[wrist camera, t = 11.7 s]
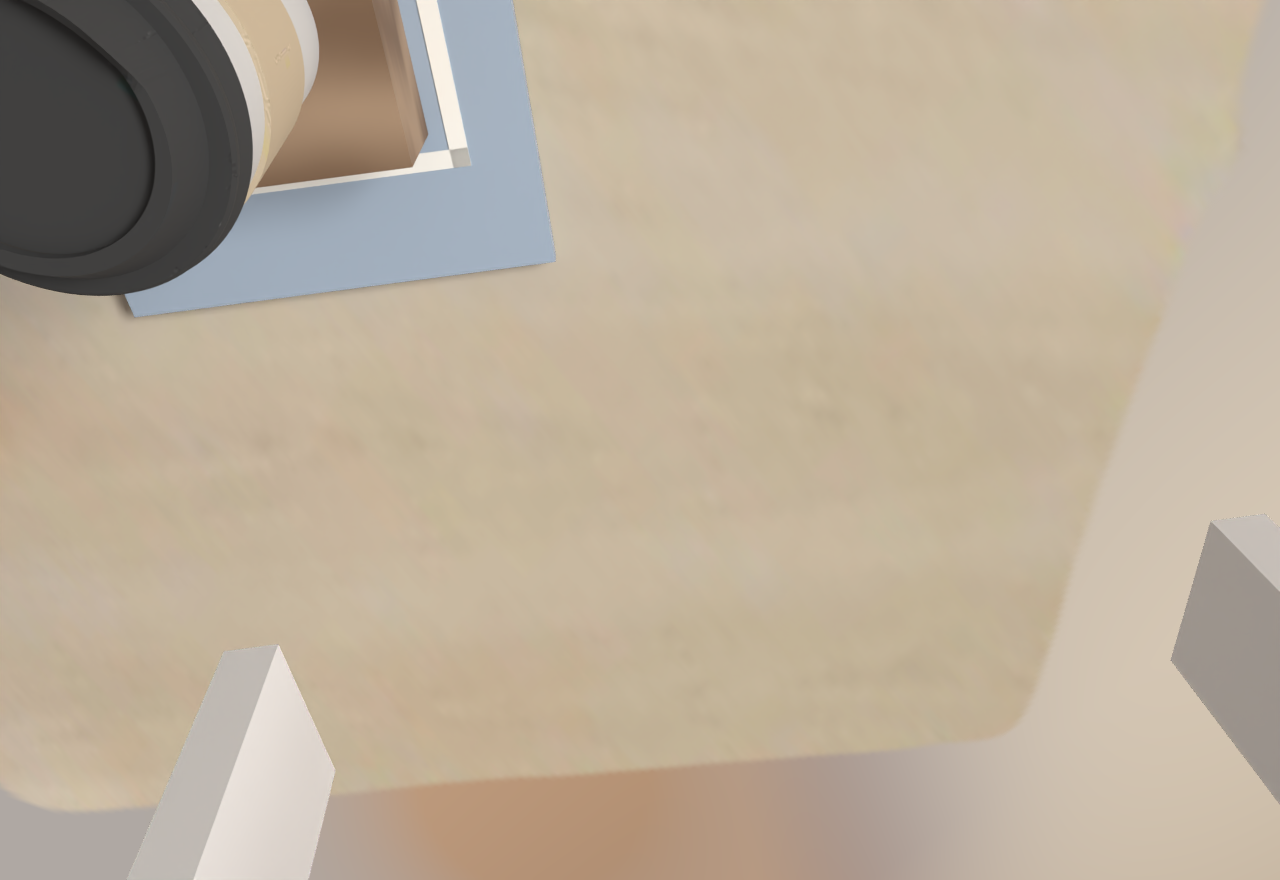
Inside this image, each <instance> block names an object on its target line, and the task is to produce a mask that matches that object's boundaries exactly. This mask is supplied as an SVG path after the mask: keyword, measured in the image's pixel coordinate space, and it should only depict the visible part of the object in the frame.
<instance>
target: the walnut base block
mask: <svg viewBox="0 0 1280 880" xmlns="http://www.w3.org/2000/svg"><path fill="white" fill-rule="evenodd" d="M307 2H308V5H309V7H310V9H311V12H312V15H313V18H314V21H315V24H316V29H317V34H318V41H319V63H318V69H317V74H316V77H315V81H314V83H313V86H312V88H311V90H310V92H309V94H308V96H307V97H306V99H305V100H304V102H303V103H302V106H301V109H300V113H299V116H298V118H297V121H296V123H295V125H294V127H293V129H292V130H291V132H290V134H289V135H288V137H287V139H286V140H285V142H284V143H283V145H282V147H281V148H280V150H279V151H278V153H277V155H276V156H275V158H274V159H273V161H272V163H271V164H270V166H269V167H268V169H267V171H266V172H265V174H264V175H263V177H262V179H261V180H260V182H259V183H258V185H257V187H256V188H259V187H267V186H275V185H282V184H290V183H297V182H305V181H313V180H320V179H328V178H335V177H343V176H350V175H358V174H366V173H373V172H381V171H388V170H396V169H404V168H411V167H413V165H414V163H415V161H416V159H417V157H418V155H419V153H420V151H421V149H422V147H423V145H424V143H425V140H426V138H427V136H428V130H427V126H426V122H425V117H424V113H423V109H422V104H421V100H420V96H419V91H418V87H417V83H416V78H415V74H414V70H413V65H412V61H411V57H410V52H409V48H408V44H407V39H406V35H405V31H404V26H403V22H402V18H401V14H400V9H399V5H398V1H397V0H307Z"/></svg>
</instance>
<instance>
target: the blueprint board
mask: <svg viewBox="0 0 1280 880" xmlns="http://www.w3.org/2000/svg"><path fill="white" fill-rule="evenodd" d="M397 1H398V5H399V9H400V14H401V18H402V22H403V26H404V31H405V35H406V39H407V44H408V48H409V52H410V57H411V61H412V65H413V70H414V74H415V78H416V83H417V87H418V91H419V96H420V100H421V104H422V109H423V113H424V117H425V122H426V126H427V130H428V136H427V138H426V140H425V143H424V145H423V147H422V149H421V151H420V153H419V155H418V157H417V159H416V161H415V163H414V165H413V167H411V168H404V169H396V170H388V171H381V172H373V173H366V174H358V175H350V176H343V177H335V178H328V179H320V180H313V181H305V182H297V183H290V184H282V185H275V186H267V187H259V188H255V190H254V191H253V193H252V194H251V196H250V197H249V199H248V200H247V202H246V203H245V204H244V205H243V208H242V210H241V212H240V215H239V217H238V219H237V221H236V222H235V224H234V226H233V228H232V229H231V231H230V232H229V234H228V235H227V236H226V238H225V239H224V240H223V241H222V243H221V244H220V245H219V246H218V247H217V248H216V249H215V250H214V251H213V252H212V253H211V254H210V255H209V256H208V257H206V258H205V259H204V260H203V261H201V262H200V263H199V264H197V265H196V266H194V267H193V268H191V269H189V270H188V271H186V272H185V273H183V274H182V275H180V276H178V277H177V278H175V279H173V280H171V281H169V282H167V283H164V284H162V285H159V286H157V287H154V288H151V289H147V290H143V291H139V292H134V293H129V294H124V295H125V297H126V299H127V301H128V304H129V306H130V308H131V310H132V312H133V315H134V317H141V316H148V315H156V314H163V313H171V312H178V311H186V310H194V309H201V308H209V307H216V306H224V305H232V304H239V303H247V302H254V301H262V300H269V299H277V298H285V297H292V296H300V295H307V294H315V293H323V292H330V291H338V290H345V289H353V288H360V287H368V286H376V285H383V284H391V283H398V282H406V281H413V280H421V279H429V278H436V277H444V276H451V275H459V274H467V273H474V272H482V271H489V270H497V269H504V268H512V267H520V266H527V265H535V264H542V263H550V262H555V258H556V254H555V248H554V242H553V236H552V230H551V224H550V218H549V212H548V206H547V200H546V195H545V189H544V183H543V177H542V171H541V165H540V159H539V153H538V147H537V141H536V135H535V129H534V124H533V118H532V112H531V106H530V100H529V94H528V88H527V82H526V76H525V70H524V64H523V58H522V53H521V47H520V41H519V35H518V29H517V23H516V17H515V11H514V5H513V0H397Z"/></svg>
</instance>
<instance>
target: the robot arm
mask: <svg viewBox="0 0 1280 880" xmlns="http://www.w3.org/2000/svg"><path fill="white" fill-rule="evenodd" d="M1171 661H1172V662H1173V664H1174V665H1175V666H1176V668H1177V669H1178V670H1179V672H1180V673H1181V674H1182V675H1183V677H1184V678H1185V680H1186V681H1187V682H1188V684H1189V685H1190V686H1191V688H1192V689H1193V690H1194V692H1195V693H1196V694H1197V696H1198V697H1199V698H1200V699H1201V701H1202V702H1203V703H1204V705H1205V706H1206V707H1207V709H1208V710H1209V711H1210V713H1211V714H1212V715H1213V717H1214V718H1215V719H1216V721H1217V722H1218V723H1219V724H1220V726H1221V727H1222V729H1223V730H1224V731H1225V732H1226V734H1227V735H1228V737H1229V738H1230V739H1231V740H1232V742H1233V743H1234V744H1235V746H1236V747H1237V748H1238V750H1239V751H1240V752H1241V754H1242V755H1243V756H1244V758H1245V759H1246V760H1247V762H1248V763H1249V764H1250V765H1251V767H1252V768H1253V770H1254V771H1255V772H1256V773H1257V775H1258V776H1259V777H1260V779H1261V780H1262V781H1263V783H1264V784H1265V785H1266V787H1267V788H1268V789H1269V791H1270V792H1271V793H1272V795H1273V796H1274V797H1275V799H1276V800H1277V801H1278V803H1279V804H1280V527H1279V526H1278V525H1277V524H1276V523H1274V522H1273V521H1272V520H1271V519H1270V518H1269V517H1268V516H1267V515H1266V514H1260V515H1252V516H1245V517H1237V518H1230V519H1222V520H1214V521H1211V522H1210V525H1209V529H1208V532H1207V536H1206V539H1205V543H1204V546H1203V550H1202V553H1201V557H1200V560H1199V564H1198V567H1197V571H1196V574H1195V578H1194V581H1193V585H1192V588H1191V591H1190V595H1189V598H1188V602H1187V606H1186V609H1185V612H1184V616H1183V620H1182V623H1181V626H1180V630H1179V633H1178V637H1177V640H1176V644H1175V647H1174V651H1173V654H1172V657H1171ZM334 775H335V768H334V766H333V764H332V762H331V760H330V757H329V755H328V753H327V751H326V748H325V746H324V744H323V742H322V740H321V737H320V735H319V733H318V731H317V729H316V726H315V724H314V722H313V720H312V718H311V715H310V713H309V711H308V709H307V706H306V704H305V702H304V700H303V698H302V695H301V693H300V691H299V689H298V687H297V684H296V682H295V680H294V678H293V676H292V673H291V671H290V669H289V667H288V664H287V662H286V660H285V658H284V656H283V653H282V651H281V649H280V647H279V645H278V644H276V645H268V646H261V647H253V648H245V649H238V650H230V651H224V652H223V655H222V657H221V659H220V662H219V664H218V666H217V669H216V671H215V673H214V676H213V678H212V680H211V683H210V685H209V687H208V690H207V692H206V694H205V697H204V699H203V701H202V704H201V706H200V709H199V711H198V713H197V716H196V718H195V720H194V723H193V725H192V727H191V730H190V732H189V734H188V737H187V739H186V741H185V744H184V746H183V748H182V751H181V753H180V755H179V758H178V760H177V763H176V765H175V767H174V770H173V772H172V774H171V777H170V779H169V781H168V784H167V786H166V788H165V791H164V793H163V795H162V798H161V800H160V802H159V805H158V807H157V809H156V812H155V814H154V817H153V819H152V821H151V824H150V826H149V828H148V831H147V833H146V835H145V838H144V840H143V842H142V845H141V847H140V850H139V852H138V854H137V857H136V859H135V861H134V864H133V866H132V868H131V871H130V873H129V875H128V878H127V880H308V879H309V875H310V871H311V867H312V863H313V859H314V855H315V851H316V847H317V843H318V839H319V835H320V830H321V826H322V823H323V819H324V815H325V811H326V806H327V802H328V799H329V795H330V791H331V787H332V783H333V779H334Z"/></svg>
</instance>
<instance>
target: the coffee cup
mask: <svg viewBox="0 0 1280 880" xmlns="http://www.w3.org/2000/svg"><path fill="white" fill-rule="evenodd" d="M318 63H319V41H318V34H317V29H316V24H315V21H314V18H313V15H312V12H311V9H310V7H309V5H308V2H307V0H0V274H2V275H5V276H7V277H10V278H12V279H15V280H18V281H20V282H23V283H26V284H30V285H33V286H36V287H40V288H44V289H48V290H52V291H57V292H63V293H69V294H77V295H90V296H109V295H121V294H129V293H134V292H139V291H143V290H147V289H151V288H154V287H157V286H159V285H162V284H164V283H167V282H169V281H171V280H173V279H175V278H177V277H178V276H180V275H182V274H183V273H185V272H186V271H188V270H189V269H191V268H193V267H194V266H196V265H197V264H199V263H200V262H201V261H203V260H204V259H205V258H206V257H208V256H209V255H210V254H211V253H212V252H213V251H214V250H215V249H216V248H217V247H218V246H219V245H220V244H221V243H222V241H223V240H224V239H225V238H226V236H227V235H228V234H229V232H230V231H231V229H232V228H233V226H234V224H235V222H236V221H237V219H238V217H239V215H240V212H241V210H242V208H243V205H244V204H245V203H246V202H247V200H248V199H249V197H250V196H251V194H252V193H253V191H254V190H255V188H256V187H257V185H258V183H259V182H260V180H261V179H262V177H263V175H264V174H265V172H266V171H267V169H268V167H269V166H270V164H271V163H272V161H273V159H274V158H275V156H276V155H277V153H278V151H279V150H280V148H281V147H282V145H283V143H284V142H285V140H286V139H287V137H288V135H289V134H290V132H291V130H292V129H293V127H294V125H295V123H296V121H297V118H298V116H299V113H300V109H301V106H302V103H303V102H304V100H305V99H306V97H307V96H308V94H309V92H310V90H311V88H312V86H313V83H314V81H315V77H316V74H317V69H318Z"/></svg>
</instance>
